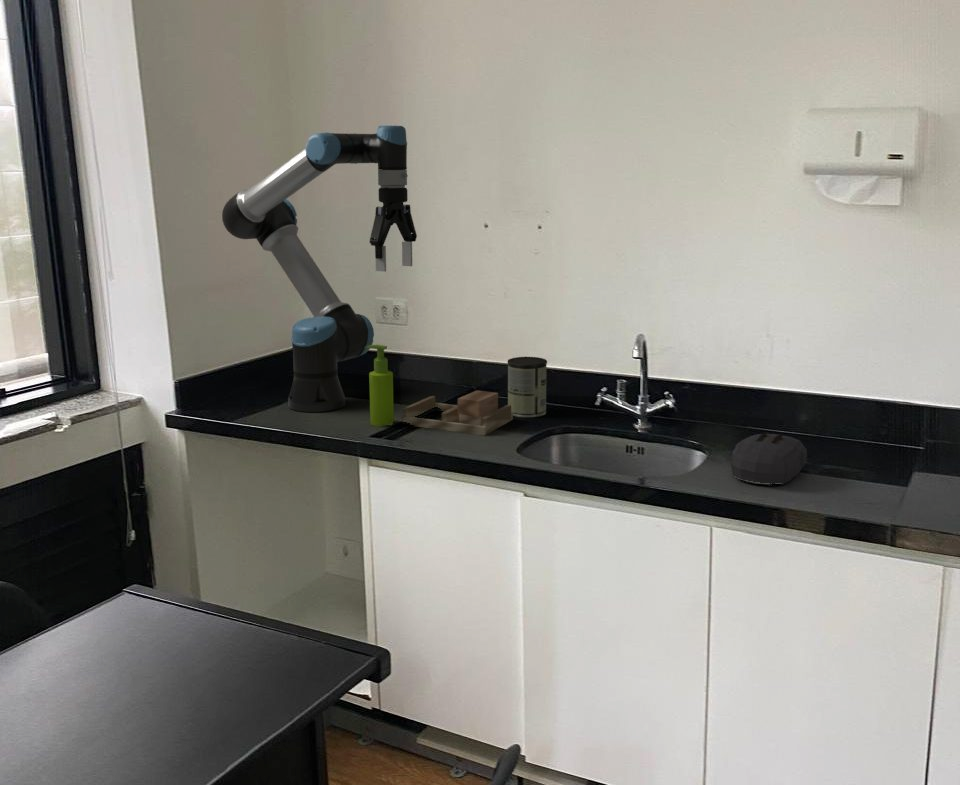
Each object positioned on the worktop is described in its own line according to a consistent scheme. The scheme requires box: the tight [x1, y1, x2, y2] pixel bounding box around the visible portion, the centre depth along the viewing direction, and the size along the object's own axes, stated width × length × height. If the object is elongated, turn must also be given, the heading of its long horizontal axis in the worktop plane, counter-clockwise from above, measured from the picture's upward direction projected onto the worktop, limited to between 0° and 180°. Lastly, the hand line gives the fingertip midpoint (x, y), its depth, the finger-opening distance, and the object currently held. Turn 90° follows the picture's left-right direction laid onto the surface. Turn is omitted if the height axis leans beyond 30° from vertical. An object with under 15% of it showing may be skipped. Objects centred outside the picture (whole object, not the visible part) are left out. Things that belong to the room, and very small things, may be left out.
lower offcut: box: [459, 408, 499, 426], centre depth 255 cm, size 6×10×4 cm, turn 154°
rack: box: [400, 395, 514, 436], centre depth 258 cm, size 23×17×4 cm
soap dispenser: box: [364, 344, 395, 427], centre depth 254 cm, size 6×7×20 cm
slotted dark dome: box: [730, 431, 808, 484], centre depth 216 cm, size 15×8×20 cm
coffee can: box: [507, 356, 548, 418], centre depth 266 cm, size 10×10×14 cm
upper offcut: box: [457, 390, 499, 417], centre depth 254 cm, size 6×10×4 cm, turn 151°
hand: (394, 268), depth 269 cm, fingers open, 13 cm apart
